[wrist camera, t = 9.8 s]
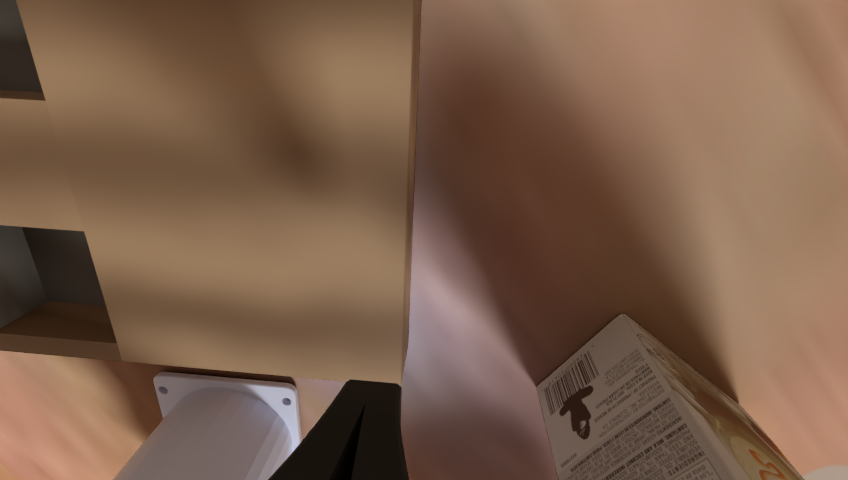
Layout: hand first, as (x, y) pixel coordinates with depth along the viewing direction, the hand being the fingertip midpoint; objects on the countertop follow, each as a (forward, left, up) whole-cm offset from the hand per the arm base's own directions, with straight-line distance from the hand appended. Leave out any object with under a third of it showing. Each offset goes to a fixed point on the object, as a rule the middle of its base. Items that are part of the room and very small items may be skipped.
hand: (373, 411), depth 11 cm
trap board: (+4, +15, -9) cm, 18 cm away
